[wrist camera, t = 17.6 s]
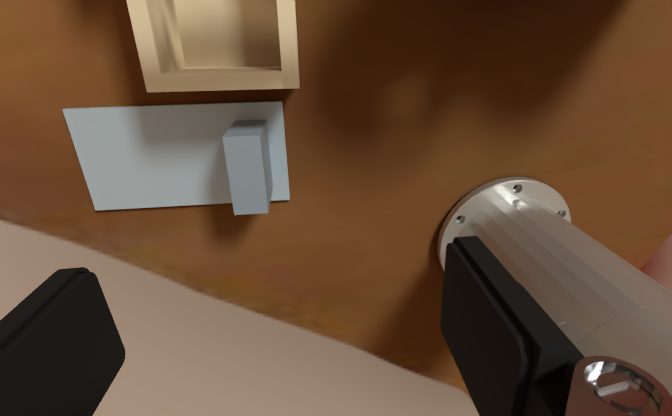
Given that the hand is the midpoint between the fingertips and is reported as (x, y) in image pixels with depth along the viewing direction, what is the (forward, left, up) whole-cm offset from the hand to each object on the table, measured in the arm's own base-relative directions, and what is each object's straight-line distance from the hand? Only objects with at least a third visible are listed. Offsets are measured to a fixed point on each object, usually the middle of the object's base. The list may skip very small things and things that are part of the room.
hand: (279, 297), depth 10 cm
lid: (-2, +9, -22) cm, 24 cm away
